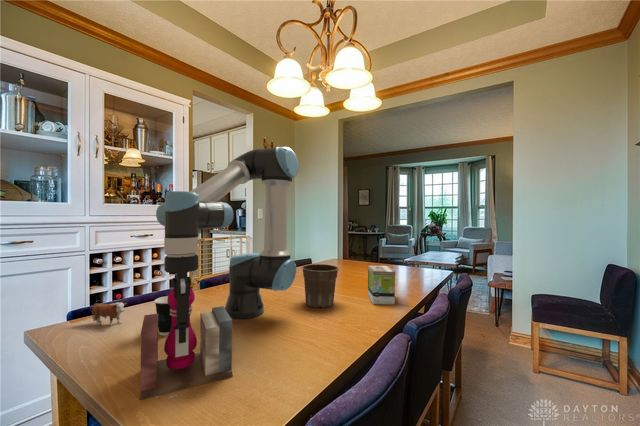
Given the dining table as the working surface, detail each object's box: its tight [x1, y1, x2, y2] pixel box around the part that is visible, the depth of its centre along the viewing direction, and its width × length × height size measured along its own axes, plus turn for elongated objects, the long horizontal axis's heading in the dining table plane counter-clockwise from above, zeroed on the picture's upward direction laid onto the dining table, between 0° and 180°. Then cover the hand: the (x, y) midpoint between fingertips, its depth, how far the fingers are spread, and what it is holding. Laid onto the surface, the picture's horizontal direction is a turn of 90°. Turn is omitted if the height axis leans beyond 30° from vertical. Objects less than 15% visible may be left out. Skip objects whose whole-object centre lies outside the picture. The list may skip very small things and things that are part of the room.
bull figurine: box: [91, 301, 128, 327], centre depth 101 cm, size 4×13×8 cm, turn 78°
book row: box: [139, 305, 234, 401], centre depth 71 cm, size 19×14×14 cm
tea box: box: [367, 265, 396, 305], centre depth 133 cm, size 15×10×15 cm, turn 179°
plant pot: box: [301, 263, 340, 309], centre depth 126 cm, size 16×16×16 cm
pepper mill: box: [163, 288, 198, 369], centre depth 71 cm, size 7×7×20 cm
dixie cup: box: [154, 295, 172, 336], centre depth 95 cm, size 8×8×11 cm
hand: (181, 348), depth 71 cm, fingers closed on pepper mill, 7 cm apart
